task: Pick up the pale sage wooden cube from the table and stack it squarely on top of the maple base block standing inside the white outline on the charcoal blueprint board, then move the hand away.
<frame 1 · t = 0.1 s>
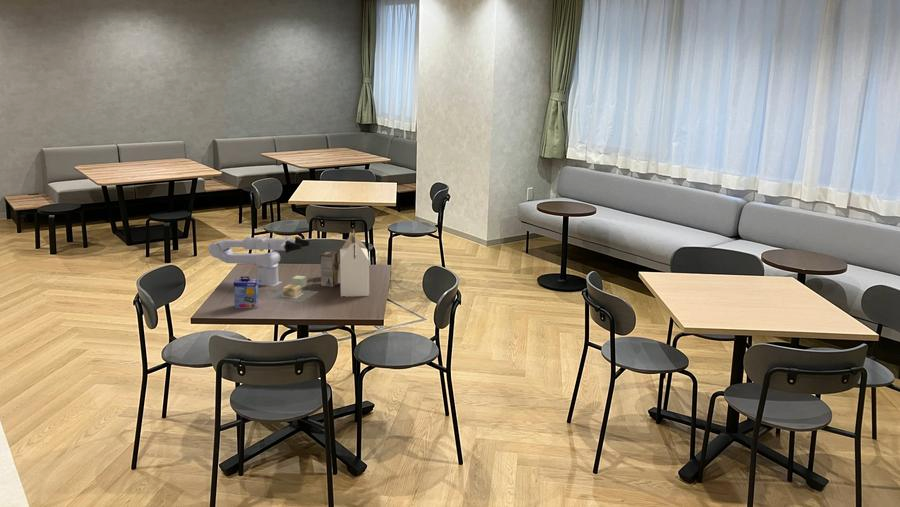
hand: (305, 244, 353), 22 cm above the table, tool horizontal, fingers open, 7 cm apart
sage top block: (299, 287, 360), on the table
ink cartridge box: (246, 307, 330), on the table
maple base block: (292, 294, 346), point 1 cm above the table, touching blueprint board
blueprint board: (292, 296, 346), on the table
gable box: (354, 290, 359), on the table
coffee box: (330, 285, 365), on the table
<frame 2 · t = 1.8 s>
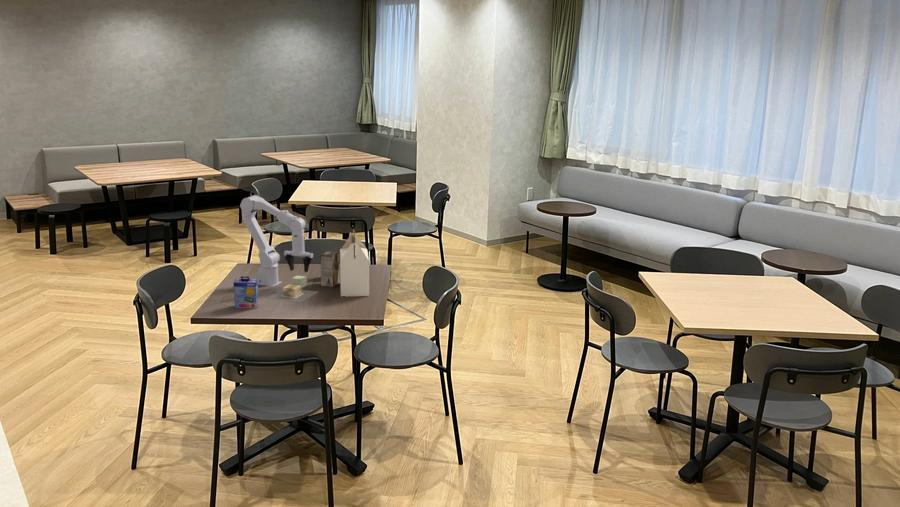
hand: (299, 270, 358), 8 cm above the table, tool pointing down, fingers open, 7 cm apart
nothing on the table moved.
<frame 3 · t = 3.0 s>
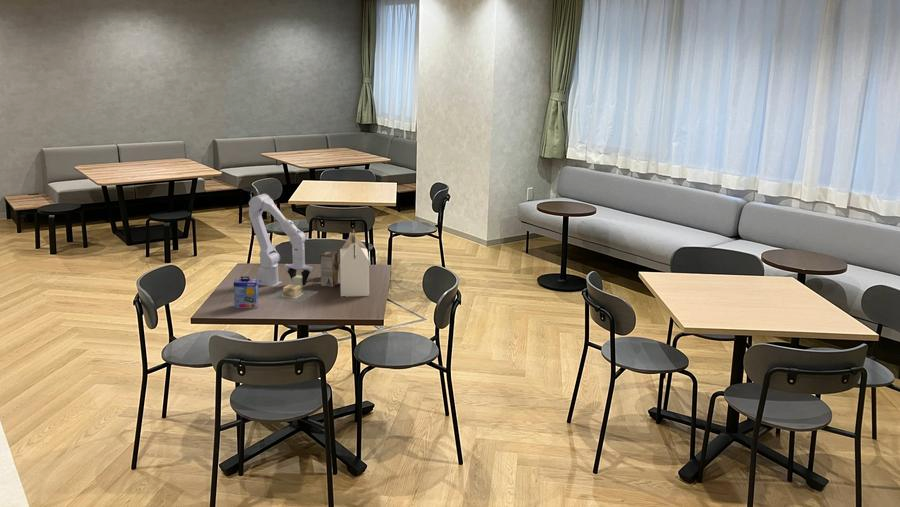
hand: (299, 284, 360), 1 cm above the table, tool pointing down, fingers closed on sage top block, 5 cm apart
sage top block: (299, 287, 360), on the table, touching gripper
everything else where it was.
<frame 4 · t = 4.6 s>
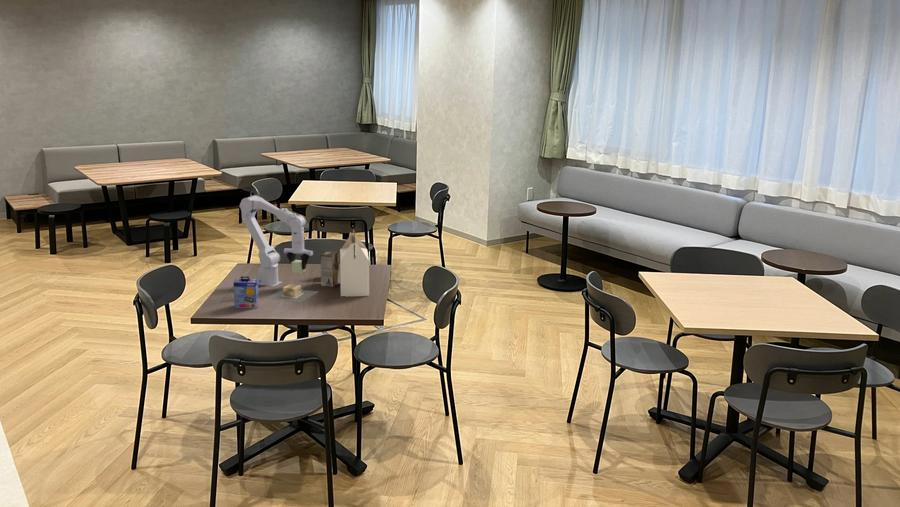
hand: (298, 268, 357), 9 cm above the table, tool pointing down, fingers closed on sage top block, 5 cm apart
sage top block: (298, 271, 358), point 8 cm above the table, touching gripper
everything else where it was.
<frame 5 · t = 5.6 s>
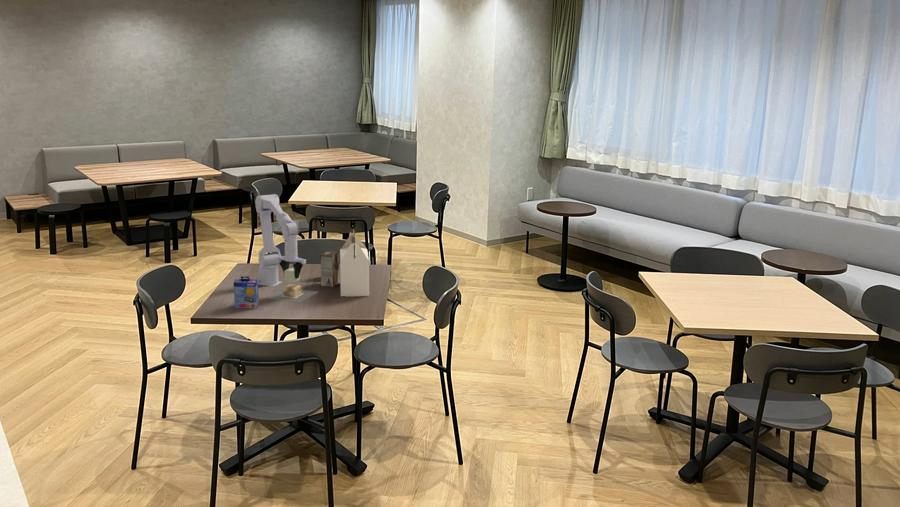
hand: (291, 277, 344), 9 cm above the table, tool pointing down, fingers closed on sage top block, 5 cm apart
sage top block: (292, 280, 344), point 8 cm above the table, touching gripper
everything else where it was.
when the fingers open (7 cm above the table, at t = 6.5 s): sage top block stays where it is, resting on maple base block.
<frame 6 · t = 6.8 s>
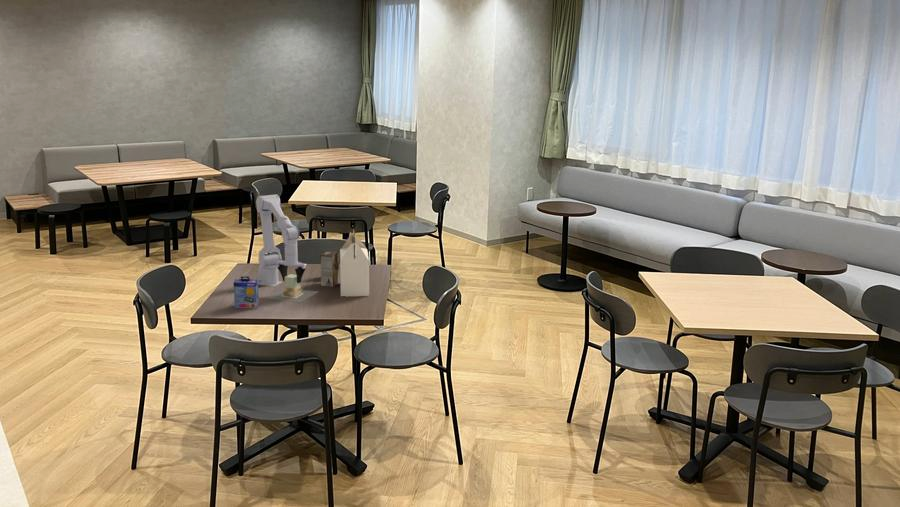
hand: (292, 281, 344), 7 cm above the table, tool pointing down, fingers open, 7 cm apart
sage top block: (292, 286, 345), point 5 cm above the table, touching maple base block
maple base block: (292, 294, 346), point 1 cm above the table, touching blueprint board, sage top block
everything else where it was.
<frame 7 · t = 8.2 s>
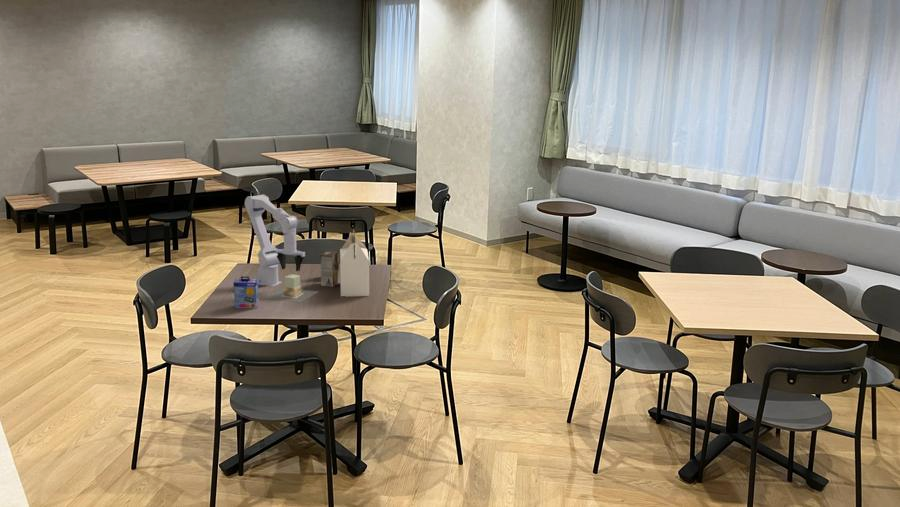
hand: (290, 269, 351), 10 cm above the table, tool pointing down, fingers open, 7 cm apart
nothing on the table moved.
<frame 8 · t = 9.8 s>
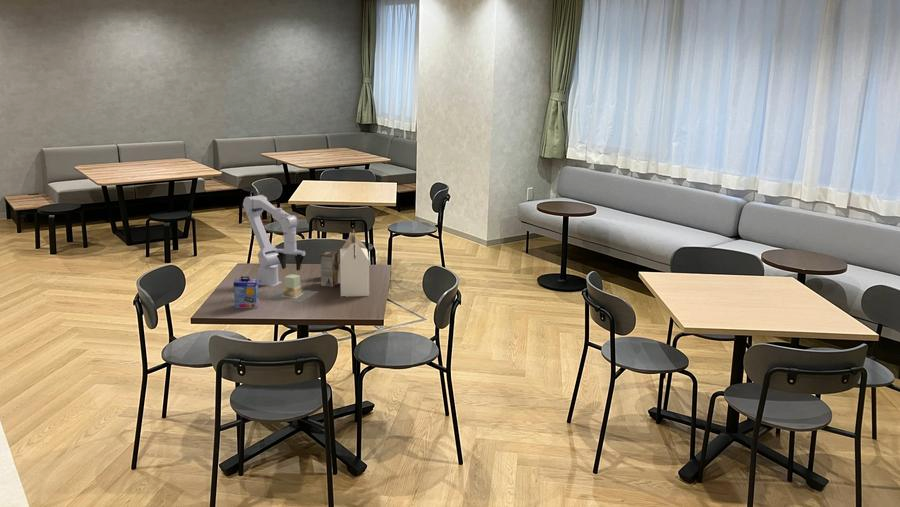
hand: (291, 269, 352), 10 cm above the table, tool pointing down, fingers open, 7 cm apart
nothing on the table moved.
at the end: sage top block 0.2 cm off-centre on the maple base block, point 4.0 cm above the maple base block's base; sage top block tilted 0°; maple base block 0.0 cm off-centre on the blueprint board, point 0.6 cm above the blueprint board's base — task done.
